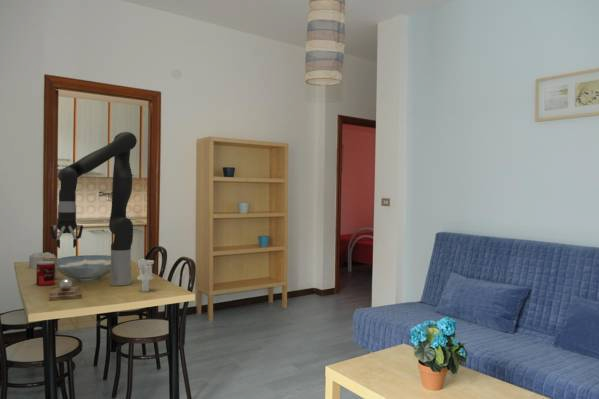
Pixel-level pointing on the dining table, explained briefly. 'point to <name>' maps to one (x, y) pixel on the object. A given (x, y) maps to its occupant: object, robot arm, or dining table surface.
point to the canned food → (45, 273)
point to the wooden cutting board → (65, 293)
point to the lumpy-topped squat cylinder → (37, 259)
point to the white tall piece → (145, 273)
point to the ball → (65, 284)
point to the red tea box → (51, 258)
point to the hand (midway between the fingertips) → (66, 247)
